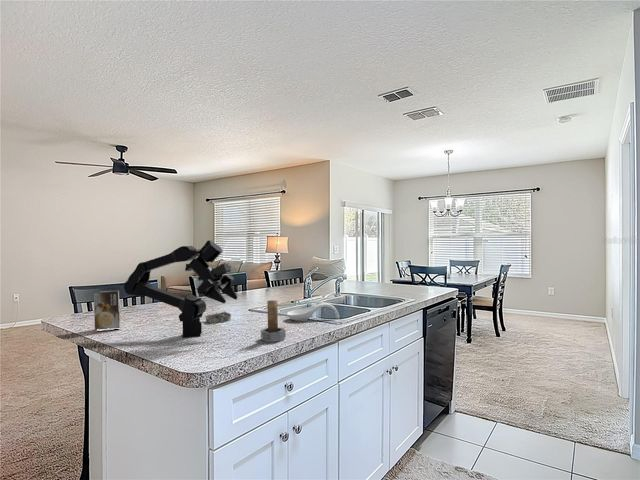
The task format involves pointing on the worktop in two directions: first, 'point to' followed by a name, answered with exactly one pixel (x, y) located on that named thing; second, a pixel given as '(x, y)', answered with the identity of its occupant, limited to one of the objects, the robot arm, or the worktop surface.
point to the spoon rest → (309, 312)
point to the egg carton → (218, 317)
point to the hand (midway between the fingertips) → (231, 300)
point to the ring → (273, 335)
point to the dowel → (272, 316)
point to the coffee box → (106, 309)
